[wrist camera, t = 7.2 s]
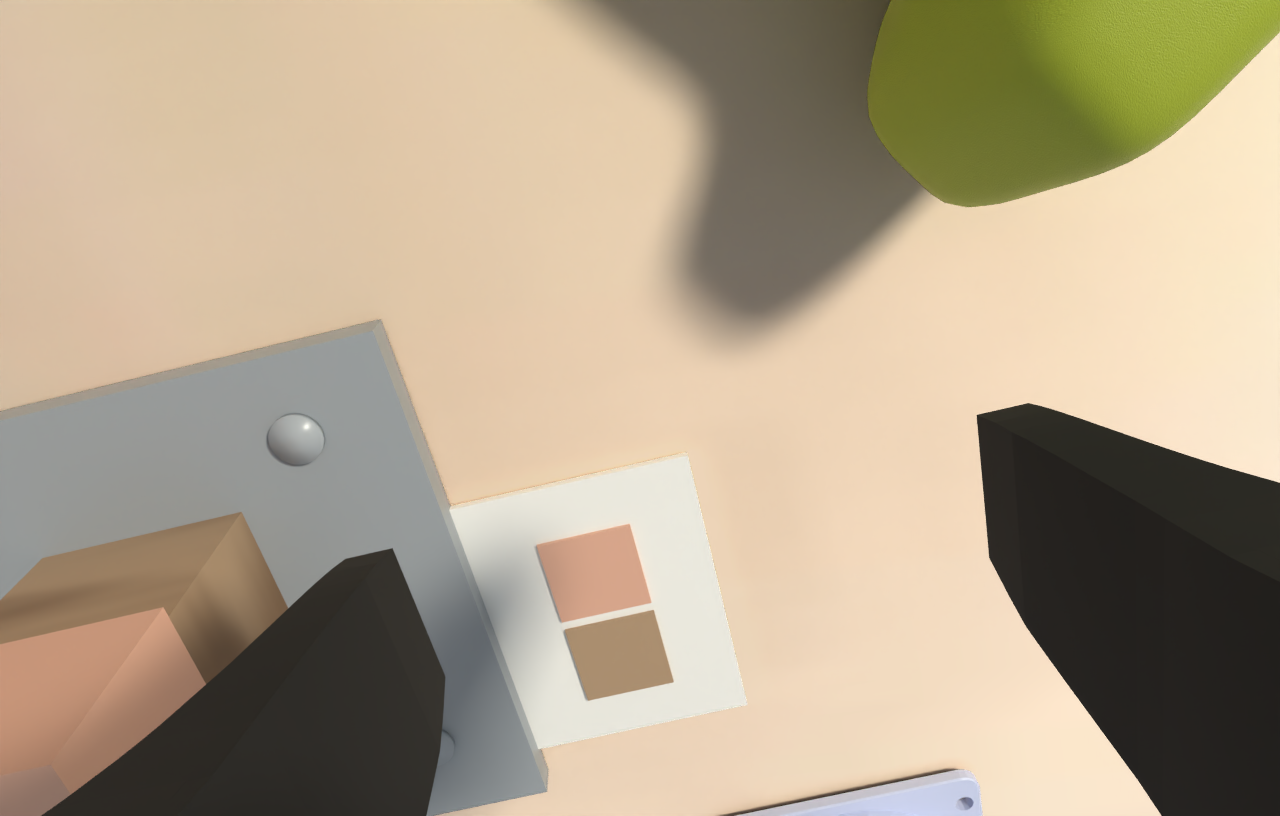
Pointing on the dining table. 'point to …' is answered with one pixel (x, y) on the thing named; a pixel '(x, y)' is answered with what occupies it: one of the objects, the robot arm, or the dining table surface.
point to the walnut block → (157, 589)
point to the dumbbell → (1048, 85)
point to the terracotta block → (84, 703)
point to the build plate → (280, 507)
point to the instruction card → (604, 600)
